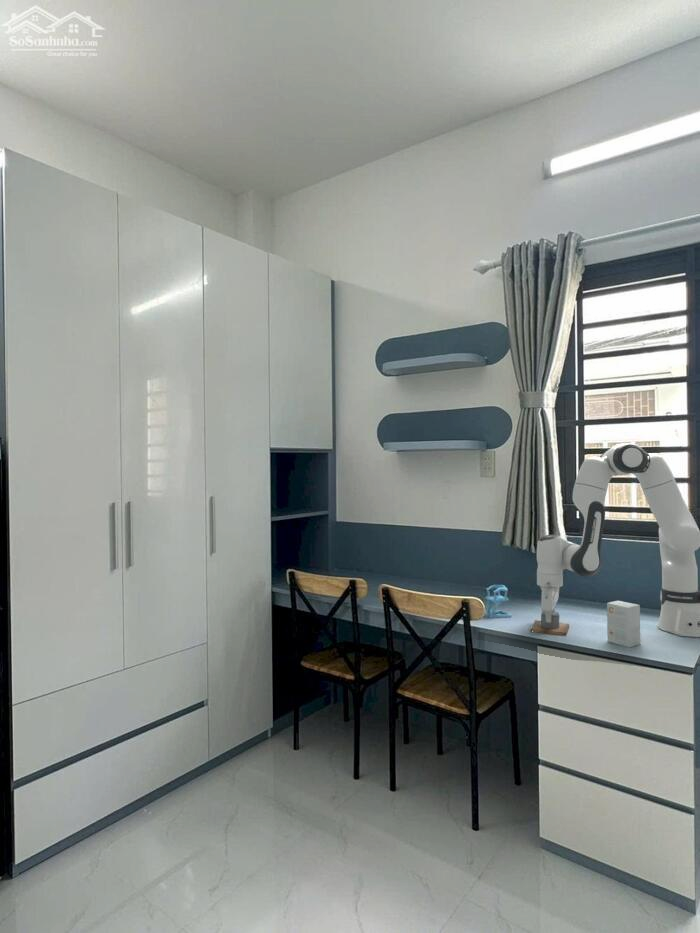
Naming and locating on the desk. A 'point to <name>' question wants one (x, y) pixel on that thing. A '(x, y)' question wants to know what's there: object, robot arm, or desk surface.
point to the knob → (553, 623)
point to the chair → (496, 601)
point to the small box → (623, 623)
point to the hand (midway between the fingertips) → (550, 618)
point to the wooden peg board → (557, 631)
